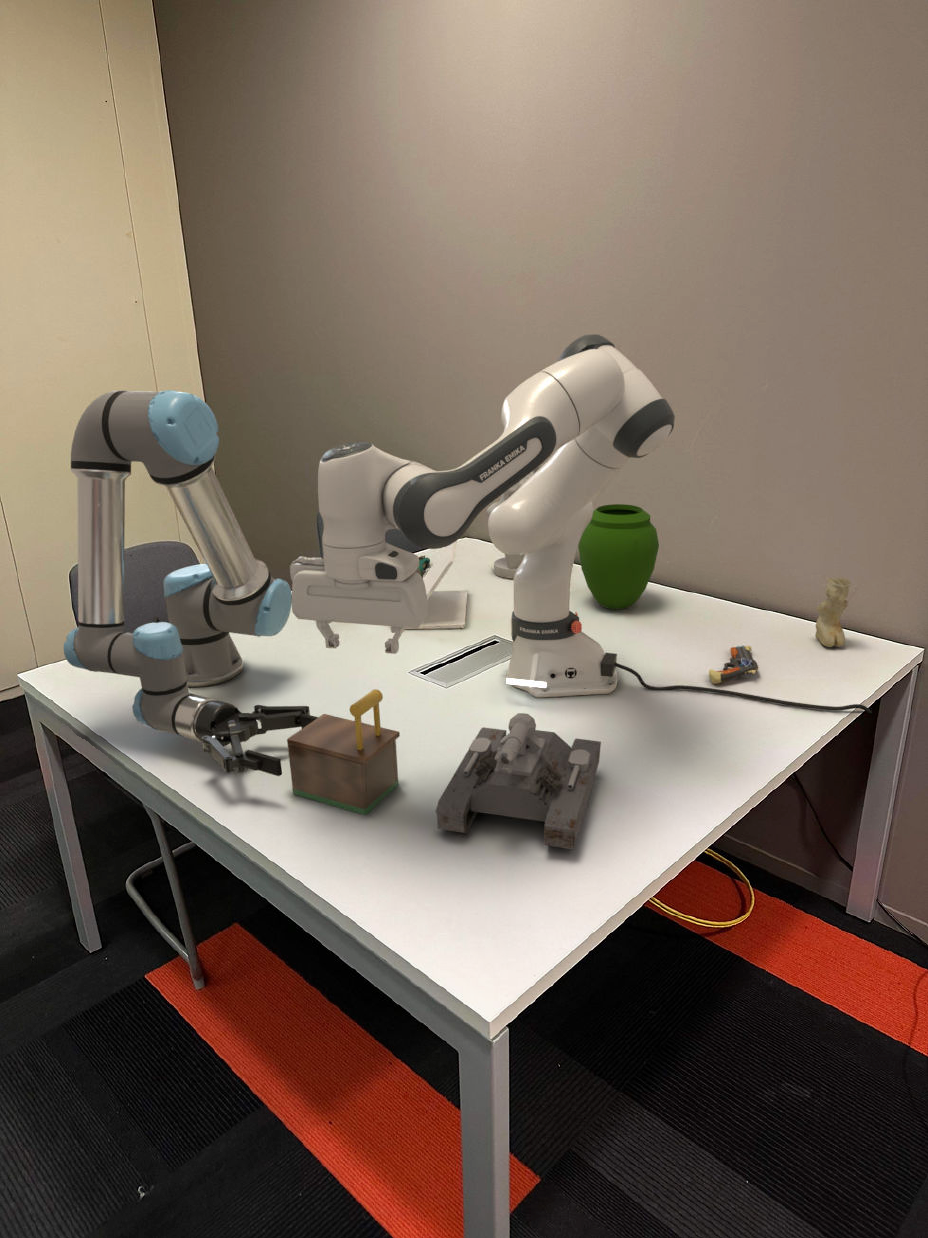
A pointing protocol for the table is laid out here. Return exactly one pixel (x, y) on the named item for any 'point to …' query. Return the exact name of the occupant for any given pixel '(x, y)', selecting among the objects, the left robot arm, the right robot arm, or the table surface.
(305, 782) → the chest
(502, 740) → the toy
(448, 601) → the tablet stand
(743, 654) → the toy gun
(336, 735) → the lid
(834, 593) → the sculpture
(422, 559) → the spray gun
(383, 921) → the table surface
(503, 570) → the bust sculpture
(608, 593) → the vase
